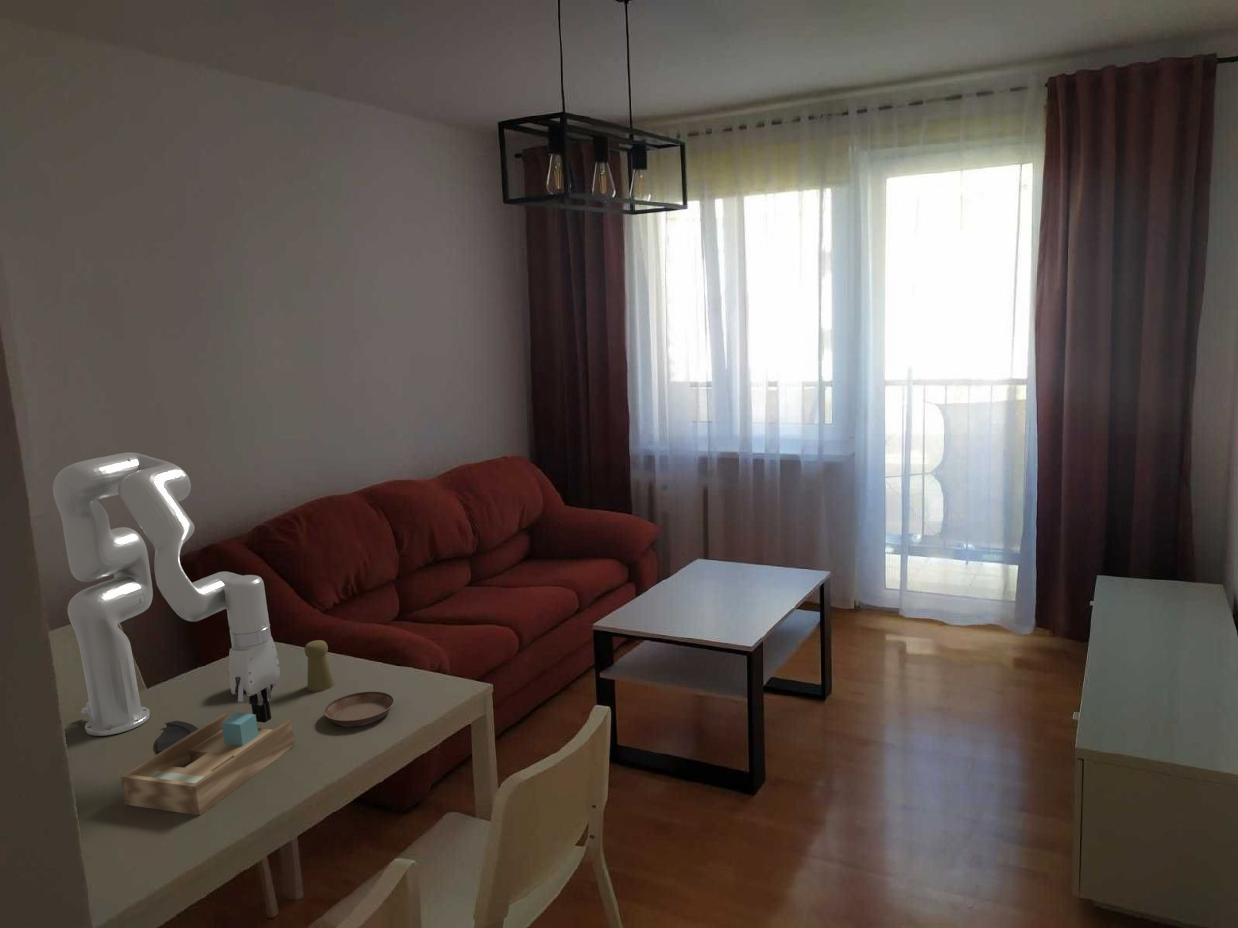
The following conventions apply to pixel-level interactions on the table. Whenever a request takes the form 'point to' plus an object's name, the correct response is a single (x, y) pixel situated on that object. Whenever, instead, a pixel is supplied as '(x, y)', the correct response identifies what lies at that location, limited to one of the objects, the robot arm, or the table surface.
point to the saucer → (359, 708)
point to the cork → (318, 666)
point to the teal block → (240, 729)
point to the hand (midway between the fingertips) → (262, 720)
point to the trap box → (202, 768)
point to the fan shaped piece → (174, 734)
